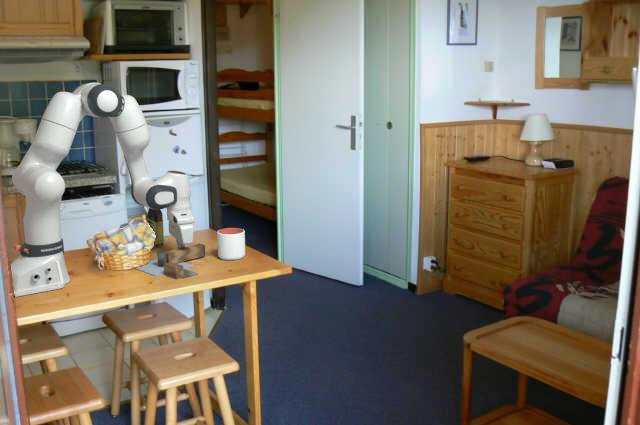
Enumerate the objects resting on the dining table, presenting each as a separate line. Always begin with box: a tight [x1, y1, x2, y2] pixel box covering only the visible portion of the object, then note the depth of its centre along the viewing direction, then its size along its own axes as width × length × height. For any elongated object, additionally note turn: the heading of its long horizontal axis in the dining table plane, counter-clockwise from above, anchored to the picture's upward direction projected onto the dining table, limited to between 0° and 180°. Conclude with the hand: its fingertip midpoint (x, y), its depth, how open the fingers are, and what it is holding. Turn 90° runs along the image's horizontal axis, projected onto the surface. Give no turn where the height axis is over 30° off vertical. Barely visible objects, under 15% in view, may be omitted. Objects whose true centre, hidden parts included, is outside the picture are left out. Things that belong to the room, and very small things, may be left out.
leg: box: [156, 243, 206, 266], centre depth 254 cm, size 19×4×5 cm, turn 136°
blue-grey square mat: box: [135, 259, 195, 277], centre depth 249 cm, size 16×16×1 cm
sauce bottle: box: [145, 208, 165, 248], centre depth 273 cm, size 7×6×20 cm
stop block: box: [164, 262, 199, 280], centre depth 239 cm, size 8×8×4 cm
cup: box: [216, 227, 246, 261], centre depth 258 cm, size 10×10×10 cm
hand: (181, 251), depth 260 cm, fingers closed
